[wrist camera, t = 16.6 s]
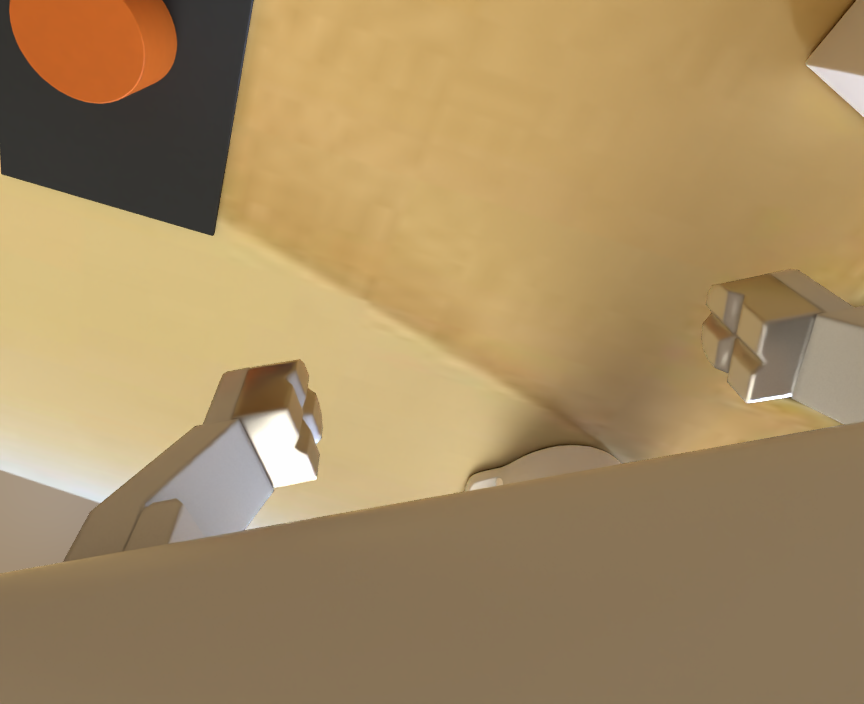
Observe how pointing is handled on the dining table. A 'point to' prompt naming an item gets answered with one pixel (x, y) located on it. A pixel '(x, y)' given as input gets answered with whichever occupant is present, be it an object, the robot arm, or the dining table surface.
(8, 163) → the mat
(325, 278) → the dining table surface
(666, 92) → the dining table surface
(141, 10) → the cylinder
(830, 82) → the milk carton
